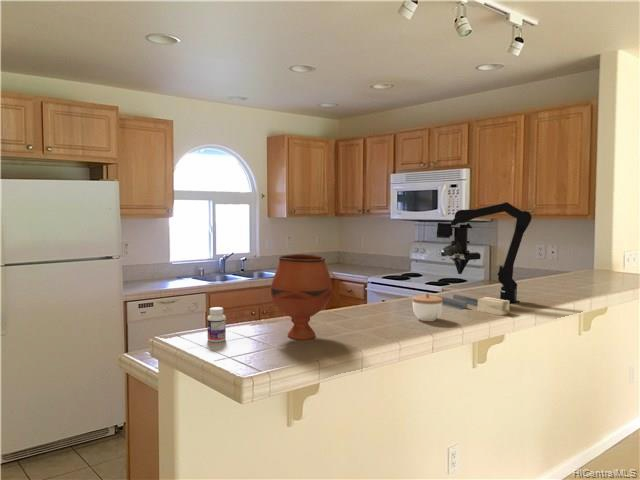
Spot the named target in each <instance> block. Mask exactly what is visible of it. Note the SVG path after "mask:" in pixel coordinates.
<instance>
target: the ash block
mask: <svg viewBox="0 0 640 480" xmlns="http://www.w3.org/2000/svg"><path fill="white" fill-rule="evenodd" d="M477 299H478V306H477V307H476V308H477V309H476V310H477V312H482V313H488V314H491V315H492V314H493V315H496V316H498V315H499V316H504V315H507V314H510V303H509V302H510V301H508V300H501V299H500V298H494V297H489V296H486V297H485V296H484V297H480V298H477Z"/></svg>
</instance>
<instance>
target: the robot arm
mask: <svg viewBox="0 0 640 480" xmlns="http://www.w3.org/2000/svg"><path fill="white" fill-rule="evenodd" d="M500 213H506V214H508V215H509V216H510V217H512V218H514V223H513V224H514V225H513V226H514V227H513V228H514V229H513V233H512V236H511V240H510V243H509V246H508V249H507V252H506V254H505V258H504V261H503V263H502V265H501V264H497V265H498V266H497V270H496V272H495V274H496V278H497V279H496V280H497V281H498V282H499V283H500V284H501V285H502V286H501V287H500V292H499V293H500V295H499V297H500V298H499V299H501V300H508V301H510V302H509V304H513V303H519V302H520V300H518V298H517V296H518V295H517V293H518V292H517V291H518V283H517V282H516V281H515V280H514V277H513V276H514V264H515V261H516V259H517V254H518V252H519V249H520V245H521V242H522V239H523V236H524V234H525V232H526V230H527V229H528V227H529V225H530V223H531V221H532V214H531V213H530V212H529V211H526V210H521V209H519V208H517V207H515V206H514V205H512V204H510V203H509V202H507V201H506V202H502V203H498V204H497V203H496V204H492V205H490V206H484V207H480V208H475V209H474V208H472V209H471V208H470V209H459V210H457V211H456V212H455V213H454V218H453V220H451V222H450V223H449V222H437V229H436V238H437V239H450V237H453V240H451V244H450V245H447V246H445V247H443V248H442V250H441V251H440V256H441V257H447V256H448V257H449V259H450V260H452V262H453V263H454V265H455V268H456V271H457V274H458V275H462V273H463V271H464V270H465V268H466V267H467V265H468V263H469V261H475V260H481V256H482V255H481V254H480V252H477V251H476V252H475V251H470V250H468V244H470V242H471V241H470V240H468V234H469V229H473V225H471V224H470V222H469V221H472V220H474V219H477V218H480V217H486V216H489V215H495V214H500ZM464 223H467V224H464ZM457 225H459V226H457Z"/></svg>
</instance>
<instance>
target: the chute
mask: <svg viewBox="0 0 640 480" xmlns="http://www.w3.org/2000/svg"><path fill="white" fill-rule="evenodd" d="M436 296H437V297H441V298H442V299H443V302H442V306H446V307H450V308H453V309H457V310H465V309H468V305H472V306H477V307H478V299H479V298H475V297H472V296H471V297H470V296H466V295H462V294H457V293H456V294H455V293H454V294H453V296H452V297H448V296H443V295H436Z"/></svg>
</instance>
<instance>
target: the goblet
mask: <svg viewBox="0 0 640 480" xmlns="http://www.w3.org/2000/svg"><path fill="white" fill-rule="evenodd" d="M325 258H326V257H324V256H320V255H314V254H305V253H304V254H303V253H302V254H301V253H300V254H297V253H296V254H289V255H288V254H287V255H281V256H279V258H278V265H277V268H276V271H275V273H274V275H273V279H272V282H271V286H270V294H271V298H272V300H273V303H274V304H275V305H276V307H277V308H278V309H279V310H280V311H281V312H283V314H285V315H286V316H288V317H290V319H291V322H292V323H293V325H292V327H291V328H290V330H289V331H288V332H287V337H288V338H290V339H294V340H309V339H313V338H315V337H316V332H315V331H314V329H313V327H311V326H310V325H309V322H310V321H311V318H312V317H313V316H314V315H316V314H317V313H319V312H321V311H322V310H323V309H324V308H325V307H326V305H327V304H328V303H329V302H330V300H331V299H330V298H331V296H332V291H333V283H332V278H331V275H330V272H329V269H328V267H327V263H326V259H325Z"/></svg>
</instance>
